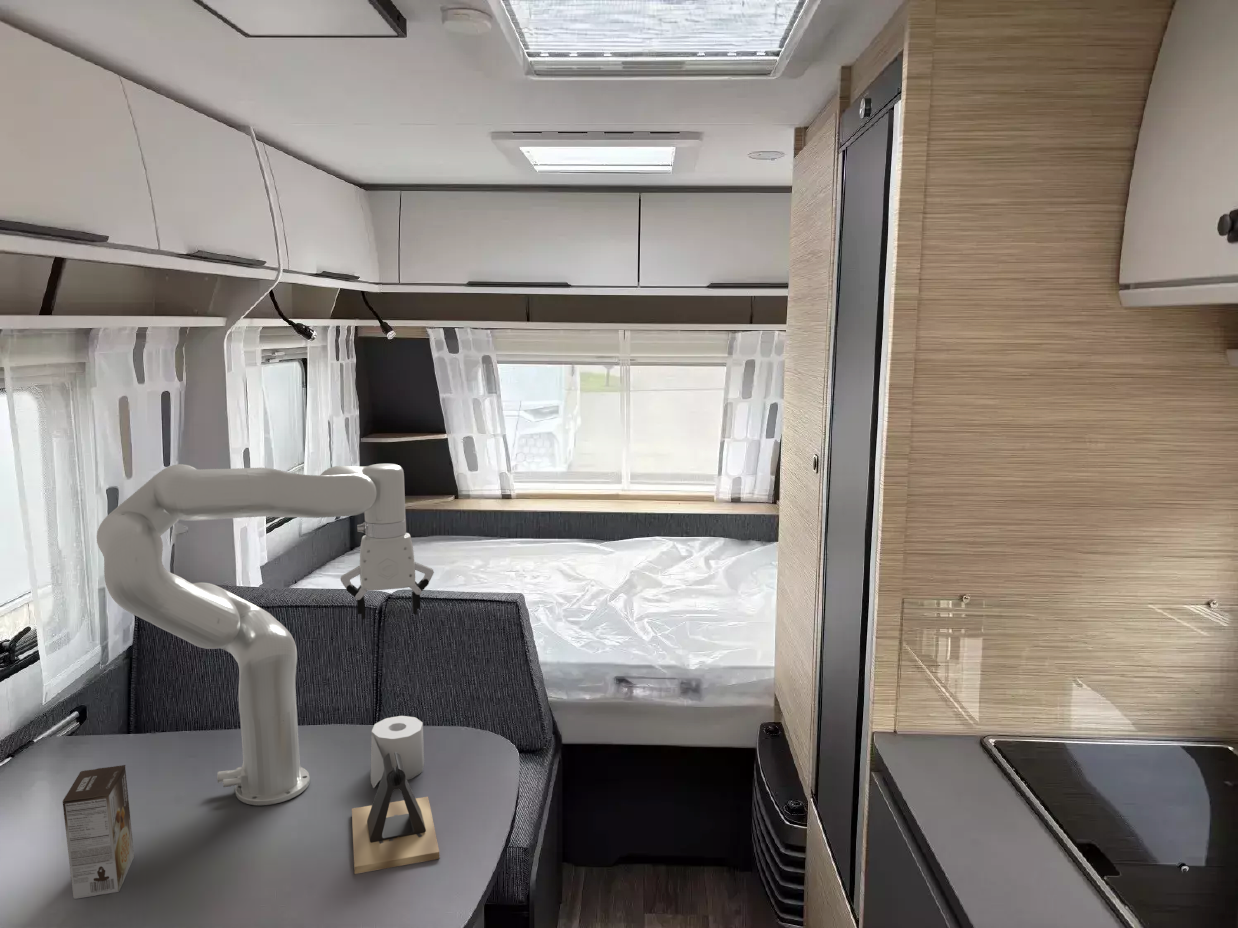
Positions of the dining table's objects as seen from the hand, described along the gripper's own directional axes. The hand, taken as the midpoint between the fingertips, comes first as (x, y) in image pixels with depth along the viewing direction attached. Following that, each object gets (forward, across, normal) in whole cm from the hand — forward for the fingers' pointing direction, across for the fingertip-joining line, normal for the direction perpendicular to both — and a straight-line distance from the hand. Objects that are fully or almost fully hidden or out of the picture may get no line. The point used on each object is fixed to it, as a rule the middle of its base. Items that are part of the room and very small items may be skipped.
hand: (389, 614), depth 169 cm
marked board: (+28, -2, -30) cm, 41 cm away
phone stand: (+27, -1, -29) cm, 40 cm away
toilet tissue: (+29, 0, -8) cm, 30 cm away
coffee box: (+28, -45, -28) cm, 60 cm away
